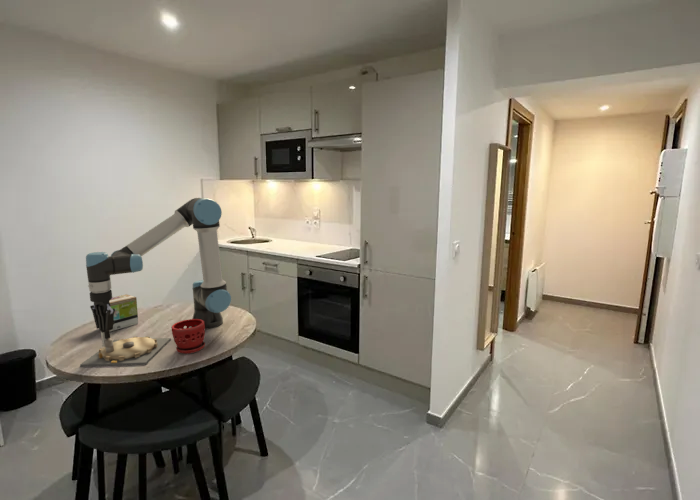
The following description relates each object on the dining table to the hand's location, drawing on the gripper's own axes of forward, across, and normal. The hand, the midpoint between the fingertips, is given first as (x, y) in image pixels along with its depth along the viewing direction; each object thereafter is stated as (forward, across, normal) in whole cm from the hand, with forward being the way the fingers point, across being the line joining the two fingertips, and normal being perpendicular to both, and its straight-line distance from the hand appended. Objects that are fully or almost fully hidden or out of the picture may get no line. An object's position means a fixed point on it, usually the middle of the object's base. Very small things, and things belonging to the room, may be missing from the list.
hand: (106, 345), depth 158 cm
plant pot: (+5, +25, +20) cm, 33 cm away
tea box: (+6, -31, +24) cm, 40 cm away
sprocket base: (+5, +4, +6) cm, 9 cm away
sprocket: (+4, +4, +7) cm, 9 cm away
